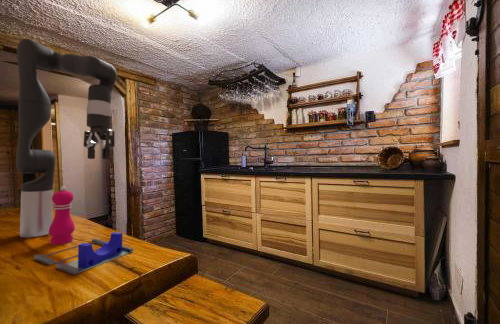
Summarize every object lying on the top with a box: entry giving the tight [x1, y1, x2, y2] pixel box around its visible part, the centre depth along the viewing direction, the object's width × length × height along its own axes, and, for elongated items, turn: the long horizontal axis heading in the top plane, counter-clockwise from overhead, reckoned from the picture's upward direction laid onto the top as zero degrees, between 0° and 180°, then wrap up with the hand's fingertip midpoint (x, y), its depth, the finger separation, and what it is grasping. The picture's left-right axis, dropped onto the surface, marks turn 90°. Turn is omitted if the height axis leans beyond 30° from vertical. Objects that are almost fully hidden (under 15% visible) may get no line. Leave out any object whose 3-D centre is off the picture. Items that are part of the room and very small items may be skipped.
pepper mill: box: [48, 185, 76, 246], centre depth 82 cm, size 7×7×20 cm
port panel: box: [34, 238, 134, 276], centre depth 70 cm, size 21×17×1 cm
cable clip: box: [77, 231, 123, 268], centre depth 68 cm, size 12×4×6 cm, turn 165°
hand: (98, 159), depth 83 cm, fingers open, 8 cm apart
